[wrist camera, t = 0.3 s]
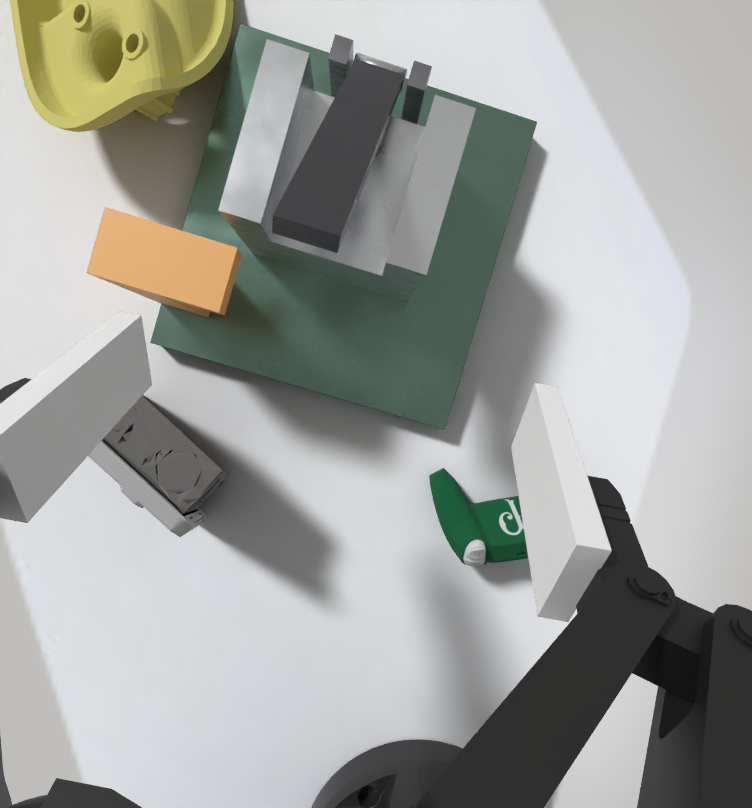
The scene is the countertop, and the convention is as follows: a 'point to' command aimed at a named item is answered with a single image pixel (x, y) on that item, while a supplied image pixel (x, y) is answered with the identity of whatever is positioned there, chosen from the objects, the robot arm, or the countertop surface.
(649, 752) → the robot arm
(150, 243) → the block
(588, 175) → the countertop surface
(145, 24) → the plastic component
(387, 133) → the green mounting baseplate
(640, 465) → the countertop surface
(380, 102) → the strap
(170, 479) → the electrical switch
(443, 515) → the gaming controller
